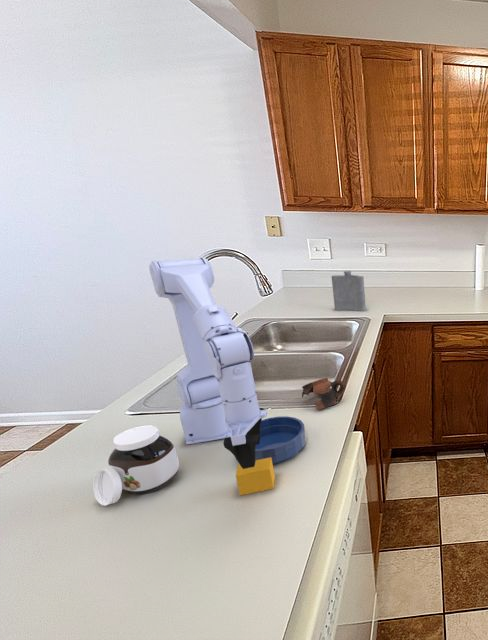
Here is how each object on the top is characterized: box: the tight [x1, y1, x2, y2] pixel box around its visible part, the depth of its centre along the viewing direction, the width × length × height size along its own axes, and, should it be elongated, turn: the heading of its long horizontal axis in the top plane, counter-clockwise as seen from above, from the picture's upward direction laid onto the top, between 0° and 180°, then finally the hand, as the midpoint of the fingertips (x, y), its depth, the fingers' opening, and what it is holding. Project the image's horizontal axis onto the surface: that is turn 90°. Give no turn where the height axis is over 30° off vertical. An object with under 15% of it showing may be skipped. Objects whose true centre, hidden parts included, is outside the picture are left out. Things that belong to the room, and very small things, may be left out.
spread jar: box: [92, 424, 180, 506], centre depth 78 cm, size 12×11×12 cm
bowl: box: [256, 415, 307, 465], centre depth 93 cm, size 14×14×4 cm
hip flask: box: [331, 270, 367, 312], centre depth 202 cm, size 16×4×20 cm, turn 90°
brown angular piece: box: [301, 377, 346, 411], centre depth 115 cm, size 12×10×8 cm
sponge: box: [235, 457, 276, 496], centre depth 81 cm, size 6×4×5 cm, turn 112°
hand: (251, 455), depth 79 cm, fingers open, 7 cm apart
